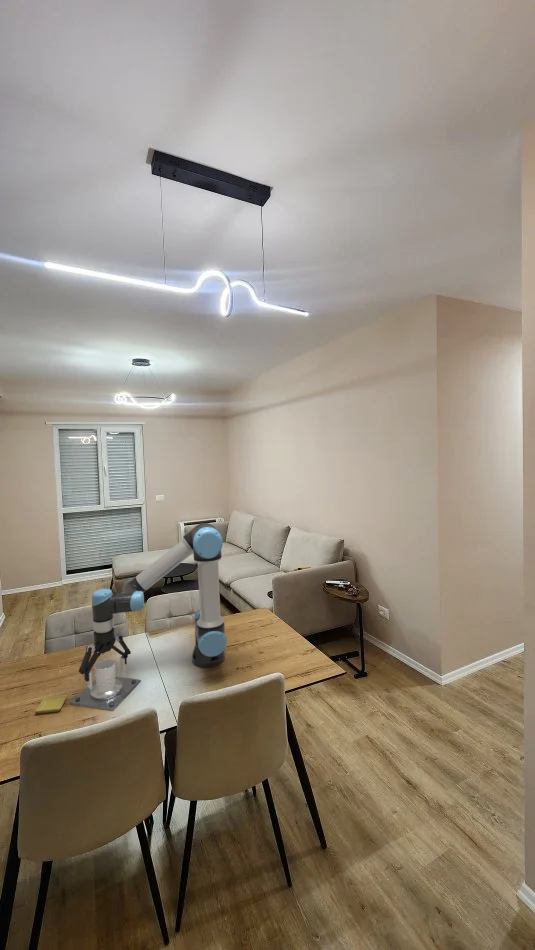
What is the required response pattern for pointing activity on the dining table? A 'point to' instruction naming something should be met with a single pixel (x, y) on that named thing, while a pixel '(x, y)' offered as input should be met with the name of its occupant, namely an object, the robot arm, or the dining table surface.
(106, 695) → the panel
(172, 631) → the dining table surface
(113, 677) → the white cup
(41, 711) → the yellow square tray
